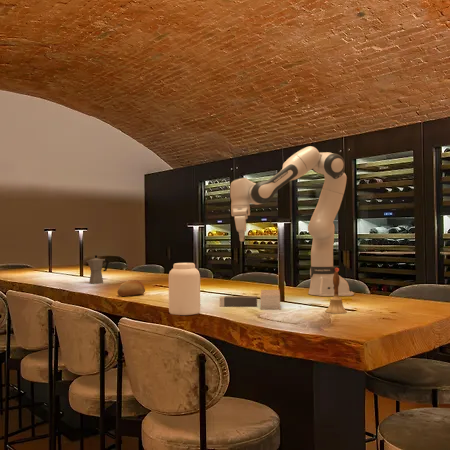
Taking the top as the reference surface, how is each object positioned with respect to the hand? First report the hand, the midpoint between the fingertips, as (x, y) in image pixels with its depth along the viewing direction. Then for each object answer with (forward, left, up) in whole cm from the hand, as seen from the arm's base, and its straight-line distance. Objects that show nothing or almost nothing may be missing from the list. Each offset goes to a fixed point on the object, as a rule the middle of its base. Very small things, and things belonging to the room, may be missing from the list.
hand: (242, 241), depth 245 cm
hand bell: (-39, +36, -28) cm, 60 cm away
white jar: (+21, +40, -28) cm, 53 cm away
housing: (-13, +20, -28) cm, 37 cm away
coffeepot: (+99, -82, -28) cm, 131 cm away
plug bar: (+1, +20, -28) cm, 34 cm away
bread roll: (+58, -16, -28) cm, 67 cm away
